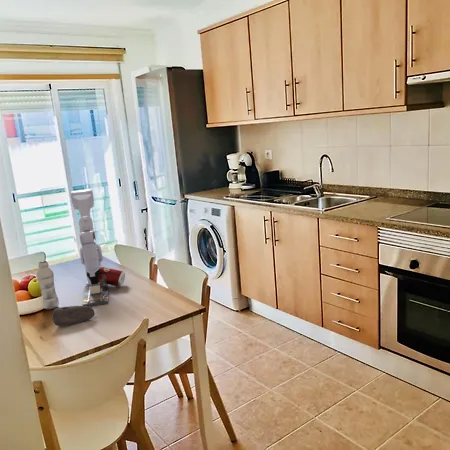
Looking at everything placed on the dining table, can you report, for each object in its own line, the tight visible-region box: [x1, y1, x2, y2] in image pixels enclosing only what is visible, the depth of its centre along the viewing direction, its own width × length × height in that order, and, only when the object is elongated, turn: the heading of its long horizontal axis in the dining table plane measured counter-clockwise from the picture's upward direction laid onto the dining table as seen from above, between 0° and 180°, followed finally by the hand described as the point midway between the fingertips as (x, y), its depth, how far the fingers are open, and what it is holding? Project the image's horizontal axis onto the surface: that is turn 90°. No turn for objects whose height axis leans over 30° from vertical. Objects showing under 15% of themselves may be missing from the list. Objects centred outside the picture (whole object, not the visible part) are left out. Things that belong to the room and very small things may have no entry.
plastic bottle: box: [36, 260, 60, 310], centre depth 181 cm, size 6×7×20 cm
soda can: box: [98, 266, 126, 288], centre depth 201 cm, size 7×7×12 cm
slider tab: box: [90, 283, 101, 294], centre depth 192 cm, size 3×4×4 cm
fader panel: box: [81, 283, 109, 308], centre depth 192 cm, size 23×10×2 cm, turn 14°
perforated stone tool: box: [51, 305, 96, 327], centre depth 166 cm, size 15×5×7 cm, turn 105°
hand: (95, 287), depth 195 cm, fingers closed
